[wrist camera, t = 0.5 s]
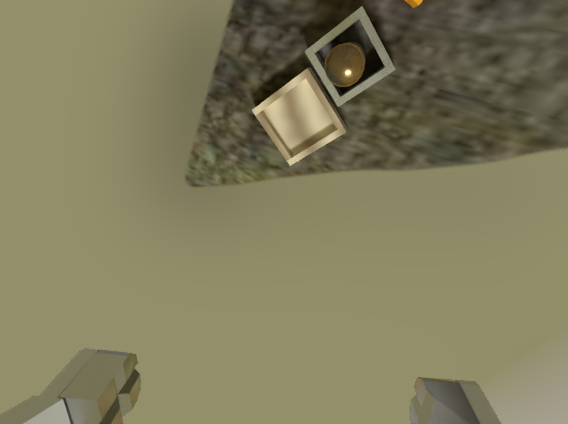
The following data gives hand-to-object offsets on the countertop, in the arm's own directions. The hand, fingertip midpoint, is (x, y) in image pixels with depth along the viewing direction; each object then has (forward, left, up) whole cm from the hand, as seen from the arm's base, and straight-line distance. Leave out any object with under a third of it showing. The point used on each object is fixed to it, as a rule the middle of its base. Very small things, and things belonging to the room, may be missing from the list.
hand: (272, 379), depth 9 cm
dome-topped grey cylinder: (-2, -5, -47) cm, 47 cm away
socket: (-2, -5, -47) cm, 47 cm away
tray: (+9, -2, -47) cm, 48 cm away
